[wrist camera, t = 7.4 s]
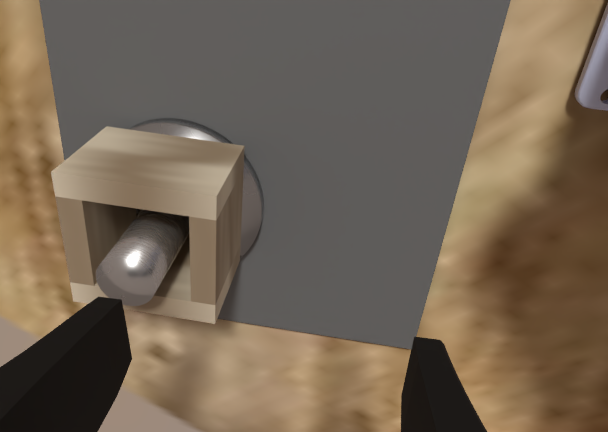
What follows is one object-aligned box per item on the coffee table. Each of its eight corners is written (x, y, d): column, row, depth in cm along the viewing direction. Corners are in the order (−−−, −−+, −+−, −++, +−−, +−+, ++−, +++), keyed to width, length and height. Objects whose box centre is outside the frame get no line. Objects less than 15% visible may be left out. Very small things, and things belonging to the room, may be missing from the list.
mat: (646, -501, 12) (654, -512, 11) (411, 343, 25) (412, 349, 25) (-38, -545, 13) (-49, -557, 12) (90, 292, 26) (86, 297, 26)
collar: (244, 145, 20) (216, 196, 17) (239, 260, 23) (215, 323, 19) (106, 126, 20) (51, 171, 17) (118, 242, 23) (73, 301, 20)
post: (268, 131, 20) (232, 205, 15) (259, 275, 24) (228, 373, 19) (92, 106, 21) (1, 172, 16) (109, 252, 24) (40, 342, 19)
